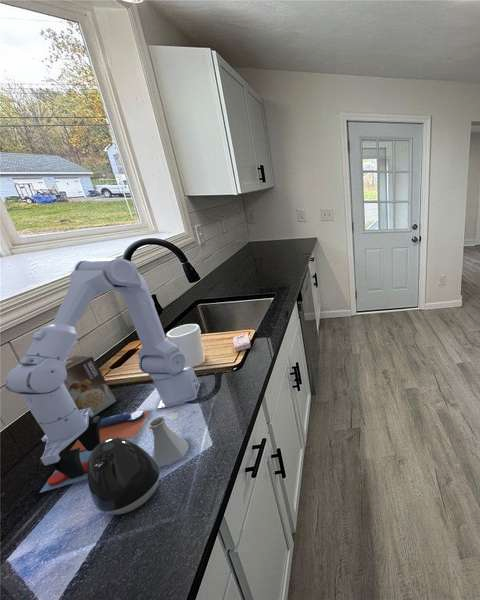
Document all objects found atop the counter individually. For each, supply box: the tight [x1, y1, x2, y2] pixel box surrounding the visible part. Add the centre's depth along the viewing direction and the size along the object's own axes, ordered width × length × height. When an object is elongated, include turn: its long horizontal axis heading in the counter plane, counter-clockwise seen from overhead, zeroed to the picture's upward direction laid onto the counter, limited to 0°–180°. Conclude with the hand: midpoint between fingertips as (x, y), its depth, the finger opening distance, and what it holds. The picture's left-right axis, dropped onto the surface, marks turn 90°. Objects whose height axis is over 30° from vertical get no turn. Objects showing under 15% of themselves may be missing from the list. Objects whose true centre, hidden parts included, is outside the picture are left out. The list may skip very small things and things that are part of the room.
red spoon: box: [46, 461, 88, 486], centre depth 70 cm, size 12×4×2 cm, turn 112°
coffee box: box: [63, 355, 117, 418], centre depth 86 cm, size 9×6×16 cm
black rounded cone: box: [87, 437, 161, 515], centre depth 61 cm, size 10×10×15 cm
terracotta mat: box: [70, 410, 150, 452], centre depth 82 cm, size 14×10×1 cm
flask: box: [147, 416, 190, 468], centre depth 72 cm, size 7×7×10 cm
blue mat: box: [38, 436, 137, 494], centre depth 72 cm, size 14×10×1 cm
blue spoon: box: [99, 410, 144, 428], centre depth 84 cm, size 12×4×2 cm, turn 112°
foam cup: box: [165, 323, 206, 368], centre depth 108 cm, size 10×9×13 cm
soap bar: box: [232, 333, 252, 352], centre depth 120 cm, size 5×9×2 cm, turn 29°
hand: (86, 461), depth 70 cm, fingers open, 7 cm apart
